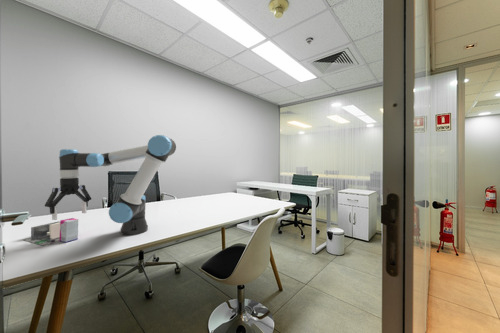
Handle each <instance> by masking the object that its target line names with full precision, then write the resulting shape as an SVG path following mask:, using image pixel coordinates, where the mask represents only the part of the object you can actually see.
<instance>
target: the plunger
mask: <svg viewBox="0 0 500 333" xmlns="http://www.w3.org/2000/svg"><path fill="white" fill-rule="evenodd" d="M46 237H49V238H52V239H55V238H58V237H60V223H55V224H51V225H49V232H47V236H44V237H40V238H37V240H39V239H42V238H46Z"/></svg>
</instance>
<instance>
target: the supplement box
mask: <svg viewBox="0 0 500 333" xmlns="http://www.w3.org/2000/svg"><path fill="white" fill-rule="evenodd" d="M79 221H80V220H79V218H74V217H72V218H66V219H60V220H59V222H60V241H59V242H61V243H65V244H68V243H71V242H73V241H76V240H79Z"/></svg>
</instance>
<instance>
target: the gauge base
mask: <svg viewBox="0 0 500 333" xmlns="http://www.w3.org/2000/svg"><path fill="white" fill-rule="evenodd" d="M55 223H60V220H59V221H54V222H50V223H45V224H40V225H36V226H31V227H30V237H29V238H25V239H23V241H24V242H28V243H32V244H35V245H38V246H42V247H43V246H47V245H50V244H54V243H57V242H60V237H58V238H55V239H52V238H49V237H46V238H42V239H39V240H37V238H40V237H44V236H47V232H49V225H51V224H55Z"/></svg>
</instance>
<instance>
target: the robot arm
mask: <svg viewBox="0 0 500 333" xmlns="http://www.w3.org/2000/svg"><path fill="white" fill-rule="evenodd" d="M176 150H177V146H176V142H175V141H174V140H173V139H172V138H170V137H168V136H165V135H162V134H159V135H158V134H157V135H154V136H152V137H151V138H150V139H149V140H148V142H147V144H146V145H143V146H138V147H137V146H136V147H132V148H126V149H122V150H121V149H120V150H117V151H110V152H105V153H100V152H99V153H98V152H91V153H90V152H83V153H82V152H81V153H80V152H79V150H78V149H72V148H70V149H67V148H63V149H62V148H61V149H60V150H59V157H58V158H59V159H58V160H59V178H60V179H59V187H53V188H52V190H51V193H50V195H49V197H48V199H46V202H45V203H44V207H47V208H49V214H50V215H51V220H52V221H53V220H54V221H57V220H58V206H57V205H58V203H60V201H62V199H63V198H64V197H65V196H70V195H75V196H76V197H78V198H79V199H80V200H82V201H81V213H82V214H87V208H88V206H89V203H88V202H89V201H91V200H92V197H91V195H90V194H89V192H88V191H87V188H86V185H85V184H80V185H79V183H80V180H79V176H80V174H79V168H81V167H83V168H85V167H87V168H88V167H89V168H97V167H109V166H111V165H116V164H121V163H126V162H130V161H135V160H141V159H144V160H143V162H142V163H141V165H140V167H139V168H138V171H137V172H136V174H135V176H134V178H133V179H132V180H131V182H130V184H129V186H128V187H127V189H126V191H125V193H122V194H120V196H119V198H118V199H117V201H116V202H115V203H113V204H112V205H111V206H110V207H109V209H108V216H109V218H110V220H112V222H114V223H117V224H121V227H120V229H119V230H120V234H121V235H124V236H134V235H140V234H142V233H145V232H147V231H148V229H149V228H148V227H149V225H148V223H147V220H146V195H144V194H145V192H147V189H148V187H149V185H150V183H151V182H152V180H153V178H154V177H155V175H156V174H157V172H158V170H159V168H160V166H161V164H163V163H166V161H167V160H168V158H169V157H170V156H172V155H173V154H174V153H175V152H176ZM80 191H81V192H82V193H81V192H80ZM58 193H59V194H58Z"/></svg>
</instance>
